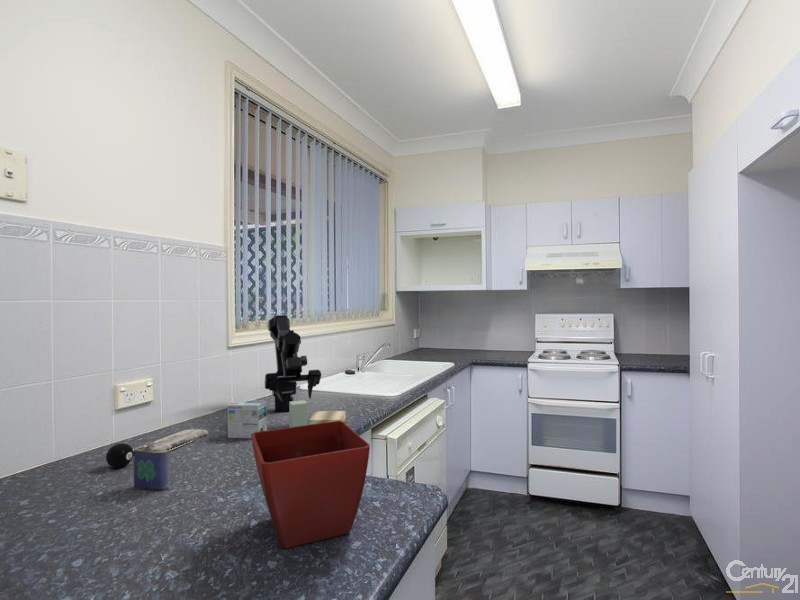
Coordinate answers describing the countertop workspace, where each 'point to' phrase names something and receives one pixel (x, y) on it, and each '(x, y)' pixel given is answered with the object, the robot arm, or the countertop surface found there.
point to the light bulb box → (246, 418)
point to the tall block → (298, 413)
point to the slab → (327, 416)
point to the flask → (151, 468)
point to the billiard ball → (119, 455)
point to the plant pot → (311, 479)
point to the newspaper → (177, 439)
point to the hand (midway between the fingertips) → (296, 399)
